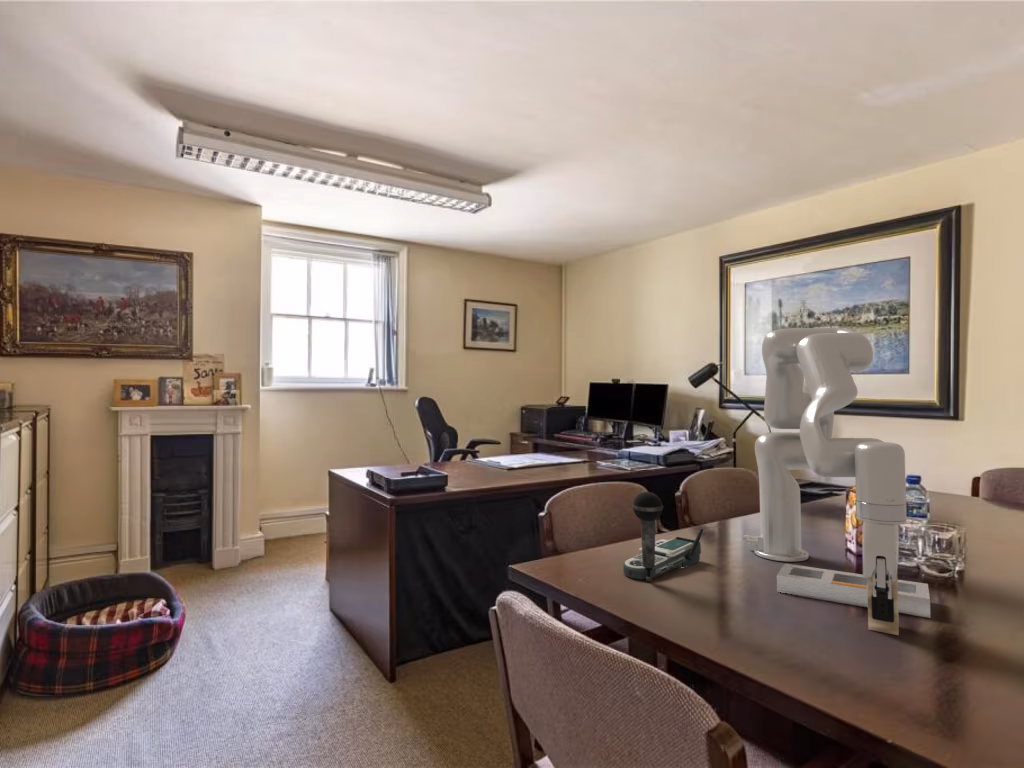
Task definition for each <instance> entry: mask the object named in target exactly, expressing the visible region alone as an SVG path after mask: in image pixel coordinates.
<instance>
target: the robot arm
mask: <svg viewBox="0 0 1024 768" xmlns="http://www.w3.org/2000/svg"><path fill="white" fill-rule="evenodd" d="M761 345H762V346H761V356H762V360H763V364H764V367H765V368H764V369H765V373H766V374H765V375H766V377H765V378H766V379H765V381H766V383H765V393H764V407H763V417H764V422H765V424H766V425H767V426H769V428H772V429H777V430H778V429H779V430H799V432H792V431H790V432H789V431H788V432H787V431H785V432H779V431H778V432H776V431H775V432H767V433H763V434H762V435H759V436H758V438H756V440H755V442H754V454H755V459H756V460H755V461H756V464H757V472H758V479H759V480H758V483H759V485H758V486H759V516H760V517H759V523H760V525H759V527H760V530H759V531H760V534H759V535H758V534H757V535H756V536H755V535H750V534H749V535H748V534H744V535H743V537H742V538H743V539H742V540H743V542H744V543H745V544H748V545H755V547H754V549H753V551H754V554H755V555H757V556H759V557H761V558H764V559H766V560H771V561H779V562H790V563H791V562H795V563H796V562H803V561H807V560H808V559H809V551H806V550H805V549H802V522H801V521H802V520H801V519H802V518H801V517H802V516H801V514H802V513H801V512H802V510H801V489H800V485H799V482H798V481H797V480H796V479H795V478H794V477H793V475H792V474H791V472H790V471H792V470H793V471H794V470H811V471H812V472H813V473H814V474H815V475H817V476H819V477H823V478H855V481H854V482H855V518H856V519H857V520H858V521H862V536H861V537H862V541H861V542H862V544H861V545H862V575H863V577H864V578H866V579H867V577H871V576H872V574H873V579H872V581H873V595H872V596H871V598H872V618H873V619H875V620H880V621H886V622H891V623H892V622H894V599H893V598H892V587H891V583H892V582H894V581H896V575H897V576H898V565H899V551H900V550H899V549H900V547H899V546H900V545H899V541H900V539H899V535H900V534H899V525H906V524H907V522H908V521H907V491H906V489H907V488H906V487H907V486H906V456H905V449H904V447H903V446H902V445H900V444H898V443H896V442H890V441H889V442H888V441H883V440H882V439H879V438H873V437H833V430H834V417H835V412H836V411H838V410H840V409H843V408H845V407H846V406H848V405H850V404H851V403H852V402H854V401H855V399H856V398H857V396H858V388H857V385H856V383H855V381H854V378H853V374H852V372H862V371H865V370H867V369H868V368H869V367H870V366H871V364H872V363H873V362H872V361H873V357H874V350H873V347H872V344H871V342H870V340H869V339H868V337H866V335H864V334H862V333H860V332H857V331H853V330H849V329H844V328H841V327H792V328H791V327H789V328H779V329H774V330H771V331H769V332H768V333H766V335H764V338H763V339H762V344H761ZM799 365H800V366H799ZM804 380H805V381H804ZM804 383H805V384H806V387H807V391H804ZM885 563H886V567H885ZM888 572H889V580H886V576H887V577H888ZM875 575H877V578H875ZM891 575H892V576H891ZM891 580H892V581H891ZM876 582H877V584H876ZM886 584H888V587H887V586H886Z"/></svg>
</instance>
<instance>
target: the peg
mask: <svg viewBox="0 0 1024 768" xmlns="http://www.w3.org/2000/svg"><path fill="white" fill-rule="evenodd" d="M885 567H886V563H885ZM891 576H892V575H891ZM875 578H877V575H875ZM872 579H873V574H872V576H871V577H867V593H868V607H867V619H868V620H867V625H868V626H867V627H868V628H867V629H868V630H869V631H874V632H881V633H885V634H891V635H895V636H900V634H899V633H900V632H899V631H900V629H899V628H900V627H899V625H900V624H899V623H900V622H899V620H900V619H899V613H898V580H899V579H898V574H897V575H896V581H894V582H892V583H891V587H892V598H893V599H894V622H892V623H891V622H886V621H880V620H875V619H873V618H872V598H871V596H872V595H873V581H872ZM886 580H889V572H888V577H887V576H886ZM891 581H892V580H891ZM876 584H877V582H876ZM886 586H887V587H888V584H886Z"/></svg>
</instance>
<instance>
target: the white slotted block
mask: <svg viewBox="0 0 1024 768" xmlns="http://www.w3.org/2000/svg"><path fill="white" fill-rule="evenodd" d="M780 592H781V594H785V593H787V594H786V595H791V594H792V596H797V595H798V597H804V598H810V599H816V600H821V601H829V602H834V603H839V604H846V605H851V606H858V607H864V608H868V593H867V579H866V578H864V577H863V573H862V574H860V573H854V572H848V571H840V570H834V569H826V568H819V567H818V568H817V567H814V566H813V567H812V566H811V567H810V566H805V565H798V564H790V563H784V564H783V565H782V567H781V568H780V570H779V571H778V573H777V575H776V593H780ZM898 614H904V615H911V616H915V617H916V616H917V617H921V618H929V619H931V598H930V590H929V584H928V583H924V582H917V581H911V580H904V579H898Z"/></svg>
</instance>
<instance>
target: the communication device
mask: <svg viewBox="0 0 1024 768" xmlns="http://www.w3.org/2000/svg"><path fill="white" fill-rule="evenodd" d="M703 531H704V529H703V528H700V530H699V532H698V533H697V536H696V538H695V539H690V538H687V537H686V538H685V537H681V536H676V537H674V538H671V539H663V538H661V539H659V540H655V567H654V568H652V570H650V576H651V578H653V579H655V578H657V576H658V577H660V576H662V575H664V574H666V573H668V572H670V571H672V570H674V569H679V568H681V567H686V566H688V567H690V566H692V565H695V564H696V562H697V563H698V562H700V559H701V553H702V549H701V548H702V546H701V541H700V539H701V537H702V535H703ZM694 563H695V564H694ZM691 564H692V565H691ZM689 565H690V566H689ZM676 567H677V568H676ZM686 568H687V567H686ZM622 569H623V574H624V576H626V577H627V576H628V577H627V578H629V577H631V578H630V579H632V578H636V579H635V580H637V579H646V577H647V570H646V569H645V567H643V561H642V547H639V548H638V554H637V555H635V556H633V557H631V558H628V559H627V560H625V561H624V562H623V563H622ZM681 569H682V568H681ZM663 573H664V574H663ZM661 574H662V575H661ZM659 575H660V576H659ZM654 577H655V578H654Z"/></svg>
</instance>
